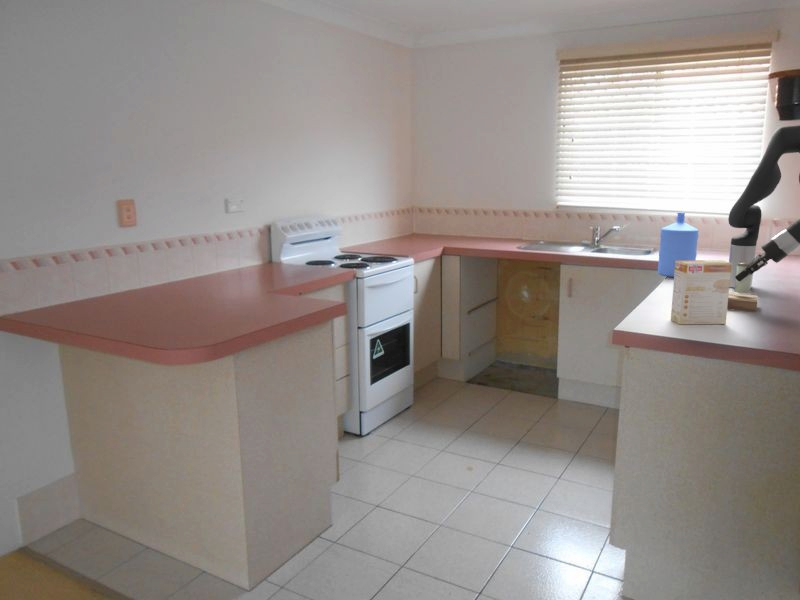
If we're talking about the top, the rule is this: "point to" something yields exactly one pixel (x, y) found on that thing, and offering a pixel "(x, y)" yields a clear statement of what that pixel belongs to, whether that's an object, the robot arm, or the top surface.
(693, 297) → the coffeecake box
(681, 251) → the water jug
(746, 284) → the spice jar
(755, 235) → the robot arm
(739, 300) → the walnut plinth
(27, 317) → the top surface
